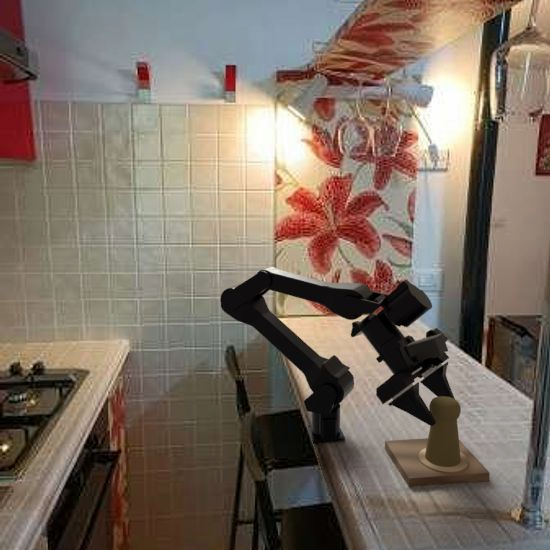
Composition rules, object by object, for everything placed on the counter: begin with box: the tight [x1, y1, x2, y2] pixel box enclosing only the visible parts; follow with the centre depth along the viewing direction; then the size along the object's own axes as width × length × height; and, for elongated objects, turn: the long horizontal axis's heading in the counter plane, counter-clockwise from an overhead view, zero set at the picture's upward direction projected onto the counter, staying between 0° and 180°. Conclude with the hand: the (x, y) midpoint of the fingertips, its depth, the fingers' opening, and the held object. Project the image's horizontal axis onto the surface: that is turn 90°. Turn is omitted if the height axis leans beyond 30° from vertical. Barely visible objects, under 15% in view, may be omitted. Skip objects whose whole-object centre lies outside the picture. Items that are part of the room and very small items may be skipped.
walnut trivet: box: [384, 437, 491, 488], centre depth 97 cm, size 13×14×2 cm
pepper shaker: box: [425, 396, 462, 467], centre depth 94 cm, size 6×6×11 cm
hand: (444, 415), depth 94 cm, fingers open, 9 cm apart
